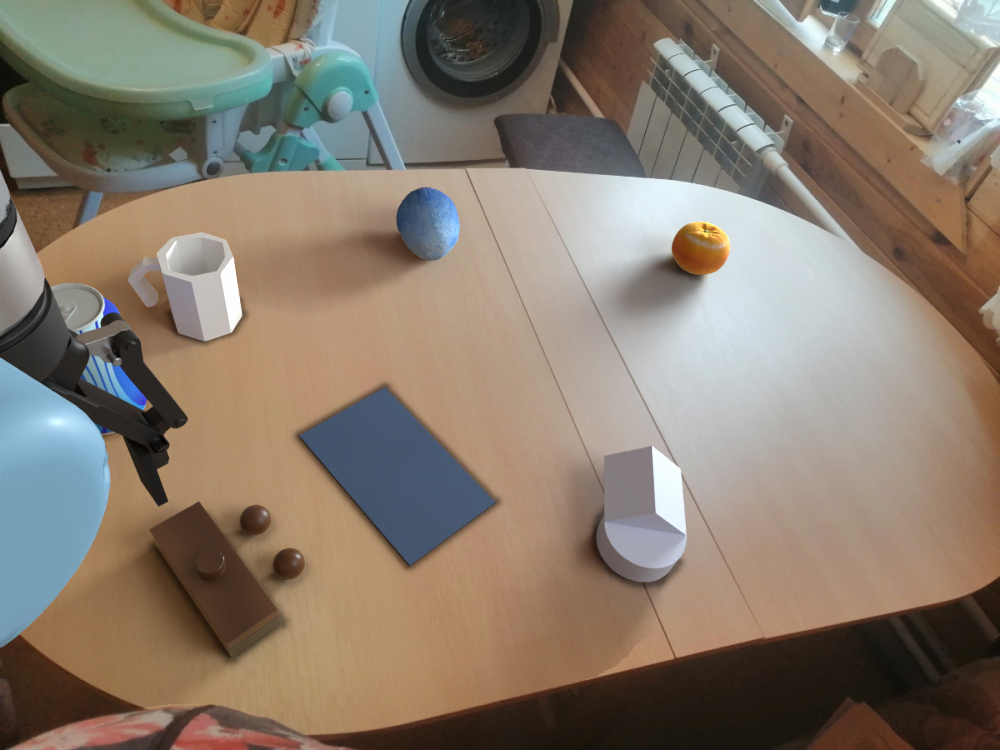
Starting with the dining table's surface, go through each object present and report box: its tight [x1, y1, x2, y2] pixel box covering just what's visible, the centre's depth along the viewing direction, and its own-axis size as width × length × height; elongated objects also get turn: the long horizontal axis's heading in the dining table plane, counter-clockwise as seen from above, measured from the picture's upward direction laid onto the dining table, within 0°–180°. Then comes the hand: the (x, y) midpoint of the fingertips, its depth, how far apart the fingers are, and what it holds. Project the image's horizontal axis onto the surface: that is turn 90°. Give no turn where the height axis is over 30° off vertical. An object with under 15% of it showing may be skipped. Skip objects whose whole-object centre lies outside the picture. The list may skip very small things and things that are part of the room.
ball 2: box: [272, 547, 306, 581], centre depth 70 cm, size 3×3×3 cm
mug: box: [127, 231, 243, 342], centre depth 86 cm, size 12×9×10 cm
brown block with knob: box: [149, 501, 281, 658], centre depth 67 cm, size 5×14×5 cm, turn 43°
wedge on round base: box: [595, 445, 688, 583], centre depth 78 cm, size 9×7×13 cm
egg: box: [395, 184, 461, 262], centre depth 103 cm, size 9×9×15 cm
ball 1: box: [239, 504, 272, 536], centre depth 72 cm, size 3×3×3 cm
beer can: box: [50, 282, 148, 436], centre depth 73 cm, size 8×8×16 cm
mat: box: [298, 386, 496, 567], centre depth 81 cm, size 12×20×1 cm, turn 43°
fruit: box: [671, 221, 731, 276], centre depth 110 cm, size 8×8×8 cm
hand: (87, 527), depth 51 cm, fingers open, 9 cm apart
